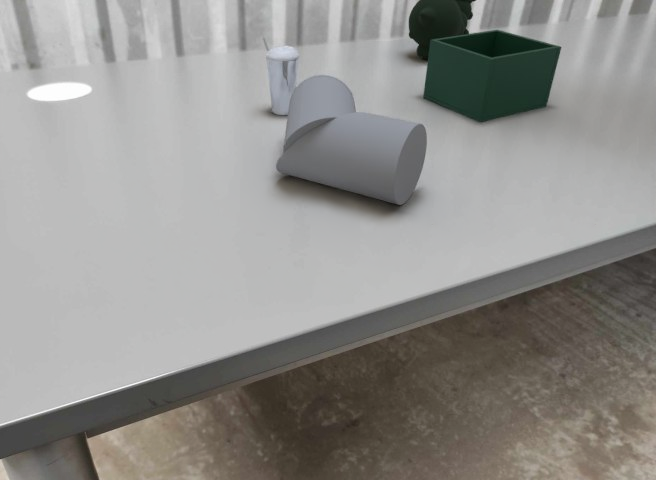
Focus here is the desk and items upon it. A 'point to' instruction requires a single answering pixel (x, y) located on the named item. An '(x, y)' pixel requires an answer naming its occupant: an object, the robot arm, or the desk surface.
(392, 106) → the desk surface
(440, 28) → the toy figurine
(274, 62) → the milkshake
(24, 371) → the desk surface
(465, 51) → the bin
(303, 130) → the l-shaped cylinder
